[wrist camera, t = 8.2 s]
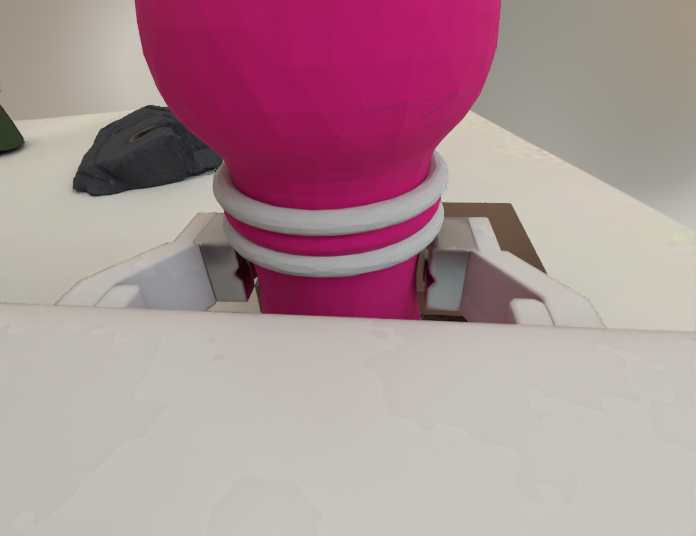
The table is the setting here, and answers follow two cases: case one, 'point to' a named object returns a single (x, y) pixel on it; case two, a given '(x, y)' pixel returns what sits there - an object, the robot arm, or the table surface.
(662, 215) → the table surface
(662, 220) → the table surface
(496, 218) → the walnut riser
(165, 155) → the dark slate chunk
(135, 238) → the table surface
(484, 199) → the table surface
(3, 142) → the character mug
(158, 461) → the robot arm
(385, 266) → the pepper mill
